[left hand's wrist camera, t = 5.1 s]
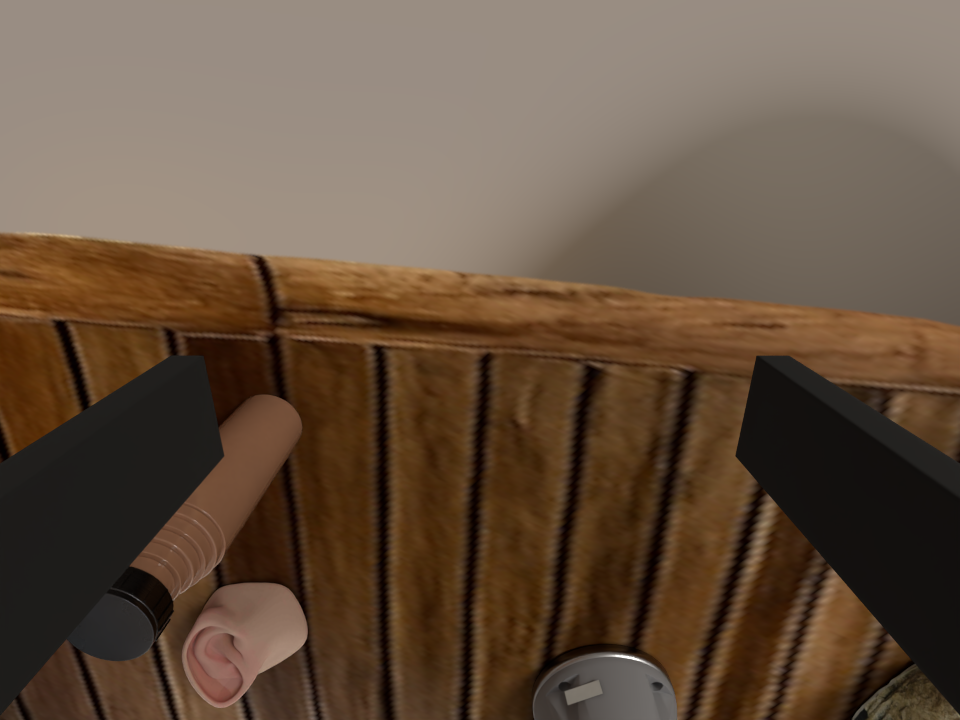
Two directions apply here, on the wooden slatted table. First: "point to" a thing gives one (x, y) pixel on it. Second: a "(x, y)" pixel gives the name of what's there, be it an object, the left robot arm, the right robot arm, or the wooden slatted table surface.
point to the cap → (125, 618)
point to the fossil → (907, 700)
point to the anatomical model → (241, 639)
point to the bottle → (224, 494)
